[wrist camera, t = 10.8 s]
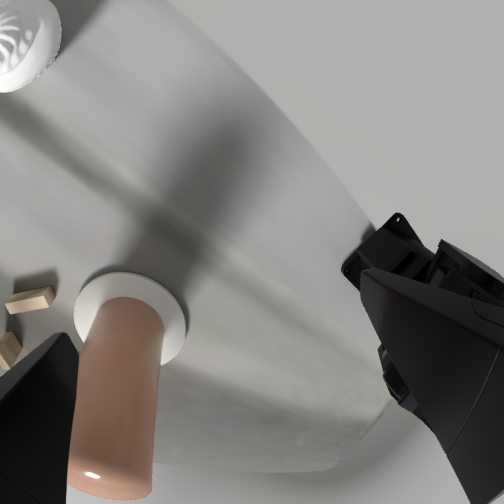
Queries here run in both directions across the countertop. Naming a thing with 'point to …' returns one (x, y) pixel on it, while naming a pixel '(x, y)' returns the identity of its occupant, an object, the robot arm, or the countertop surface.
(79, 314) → the white disc
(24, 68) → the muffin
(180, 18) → the countertop surface
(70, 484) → the salmon tan cylinder
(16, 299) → the wooden blocks
